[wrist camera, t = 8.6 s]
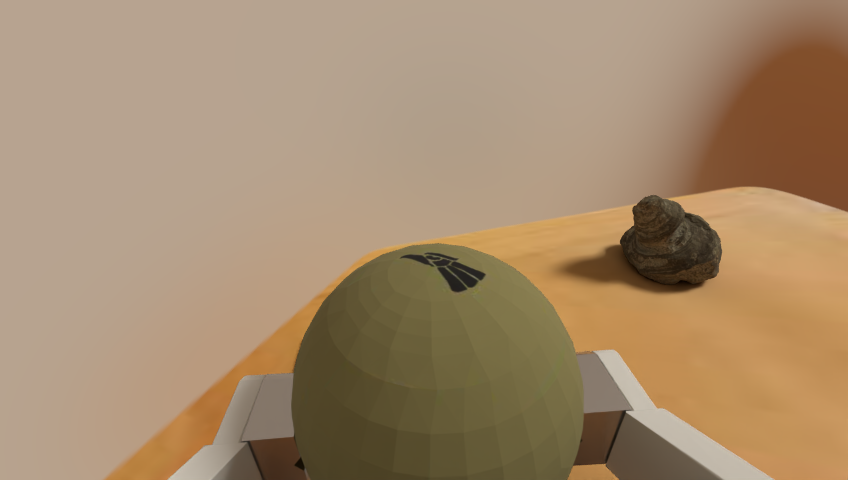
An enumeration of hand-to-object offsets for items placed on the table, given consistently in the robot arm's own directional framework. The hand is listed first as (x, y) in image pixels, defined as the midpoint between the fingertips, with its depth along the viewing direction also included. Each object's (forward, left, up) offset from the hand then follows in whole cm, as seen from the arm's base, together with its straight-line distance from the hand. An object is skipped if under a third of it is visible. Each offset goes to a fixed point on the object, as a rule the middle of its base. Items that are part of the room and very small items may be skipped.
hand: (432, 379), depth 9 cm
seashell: (-30, -27, -17) cm, 44 cm away
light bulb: (0, +1, -6) cm, 6 cm away
